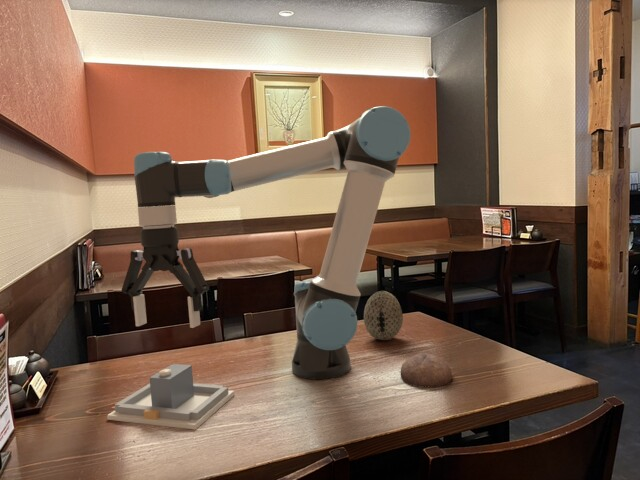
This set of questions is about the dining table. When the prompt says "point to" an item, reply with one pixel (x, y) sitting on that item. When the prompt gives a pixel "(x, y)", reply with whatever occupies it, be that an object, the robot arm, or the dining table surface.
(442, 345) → the dining table surface
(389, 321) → the decorative egg
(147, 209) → the robot arm
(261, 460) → the dining table surface
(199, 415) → the board
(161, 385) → the block
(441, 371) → the brown dome
